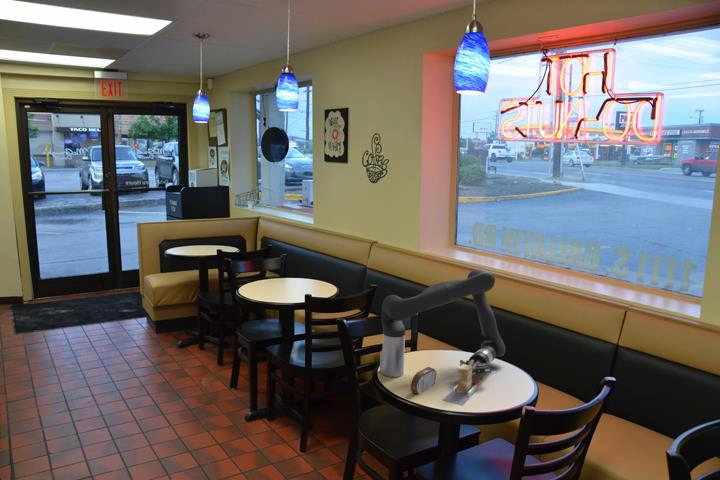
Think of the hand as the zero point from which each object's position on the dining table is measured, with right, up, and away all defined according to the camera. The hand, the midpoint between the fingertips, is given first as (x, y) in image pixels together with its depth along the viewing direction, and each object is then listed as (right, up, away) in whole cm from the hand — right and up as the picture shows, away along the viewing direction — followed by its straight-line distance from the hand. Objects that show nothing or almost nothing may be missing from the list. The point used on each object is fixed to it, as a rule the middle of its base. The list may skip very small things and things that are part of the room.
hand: (467, 373), depth 215 cm
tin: (-17, -7, 0) cm, 18 cm away
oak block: (-1, -7, -1) cm, 7 cm away
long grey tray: (-2, -7, -2) cm, 8 cm away
